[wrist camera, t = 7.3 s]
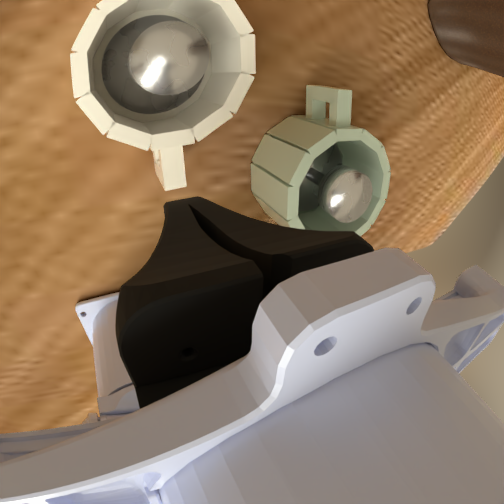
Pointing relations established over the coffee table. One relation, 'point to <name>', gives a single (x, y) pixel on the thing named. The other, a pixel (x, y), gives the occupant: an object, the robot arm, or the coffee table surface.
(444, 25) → the plant pot
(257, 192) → the sage press carafe
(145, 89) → the silver knobbed plunger
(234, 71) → the cream press carafe
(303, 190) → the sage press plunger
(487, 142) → the coffee table surface
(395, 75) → the coffee table surface
